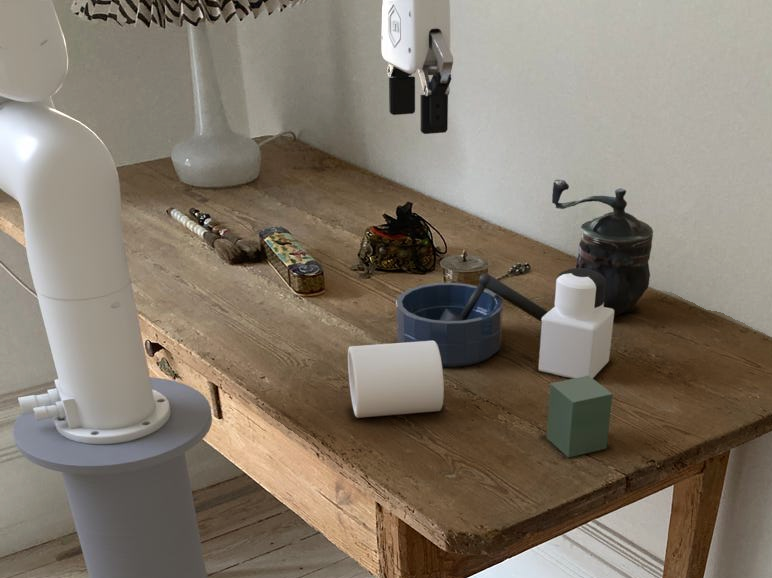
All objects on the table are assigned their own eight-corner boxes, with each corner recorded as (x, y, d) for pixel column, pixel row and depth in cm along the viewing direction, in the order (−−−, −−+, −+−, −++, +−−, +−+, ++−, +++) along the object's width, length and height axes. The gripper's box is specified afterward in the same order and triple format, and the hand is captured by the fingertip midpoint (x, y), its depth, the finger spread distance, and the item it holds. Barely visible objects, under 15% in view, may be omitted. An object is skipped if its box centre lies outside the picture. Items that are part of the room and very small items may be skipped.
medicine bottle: (558, 350, 135) (565, 259, 128) (609, 362, 133) (619, 269, 125) (537, 371, 130) (543, 277, 123) (589, 383, 128) (598, 288, 120)
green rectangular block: (568, 457, 114) (573, 402, 109) (546, 437, 117) (550, 383, 113) (606, 448, 115) (612, 393, 111) (583, 429, 119) (588, 375, 115)
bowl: (423, 376, 129) (422, 330, 125) (381, 335, 138) (380, 291, 134) (518, 357, 133) (521, 312, 130) (472, 319, 143) (473, 276, 139)
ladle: (448, 330, 131) (483, 272, 129) (432, 315, 135) (466, 258, 132) (536, 379, 142) (570, 326, 139) (520, 365, 145) (552, 313, 143)
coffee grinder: (530, 303, 148) (537, 170, 136) (620, 290, 152) (635, 161, 141) (569, 337, 139) (581, 198, 127) (664, 323, 143) (683, 187, 132)
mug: (444, 423, 119) (444, 357, 114) (358, 430, 117) (354, 364, 112) (425, 378, 128) (424, 316, 123) (345, 384, 126) (341, 321, 121)
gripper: (357, -57, 117) (362, 109, 128) (416, -39, 105) (416, 143, 116) (418, -58, 119) (418, 105, 130) (482, -40, 107) (476, 138, 118)
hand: (417, 122), depth 123 cm, fingers open, 9 cm apart
